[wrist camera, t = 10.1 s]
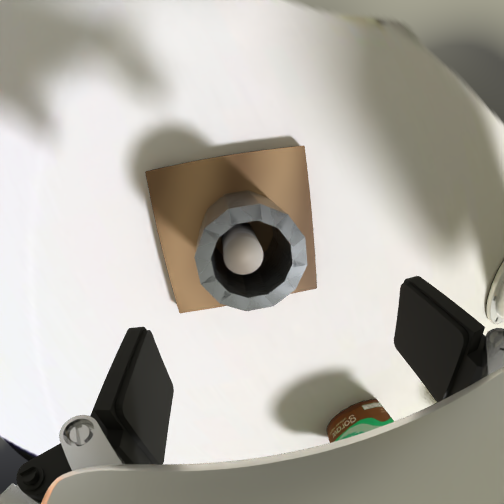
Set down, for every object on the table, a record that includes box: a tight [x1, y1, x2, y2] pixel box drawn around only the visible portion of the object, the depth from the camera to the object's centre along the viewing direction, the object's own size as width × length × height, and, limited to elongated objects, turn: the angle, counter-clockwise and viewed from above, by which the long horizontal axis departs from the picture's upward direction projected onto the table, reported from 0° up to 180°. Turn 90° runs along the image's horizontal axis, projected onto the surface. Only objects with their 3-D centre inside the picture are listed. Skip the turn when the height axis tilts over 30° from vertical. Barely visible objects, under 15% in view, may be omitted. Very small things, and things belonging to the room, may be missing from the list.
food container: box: [327, 399, 394, 443], centre depth 29 cm, size 12×6×10 cm, turn 156°
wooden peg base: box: [146, 146, 317, 313], centre depth 20 cm, size 12×12×6 cm
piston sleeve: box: [194, 190, 307, 311], centre depth 19 cm, size 6×6×6 cm
